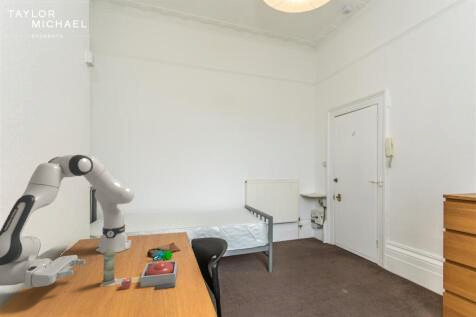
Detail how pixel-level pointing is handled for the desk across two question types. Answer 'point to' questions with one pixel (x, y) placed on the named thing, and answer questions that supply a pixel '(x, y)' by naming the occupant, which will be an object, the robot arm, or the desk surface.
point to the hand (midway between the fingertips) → (78, 266)
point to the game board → (150, 279)
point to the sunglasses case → (169, 247)
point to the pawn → (108, 267)
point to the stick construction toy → (162, 255)
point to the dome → (160, 268)
